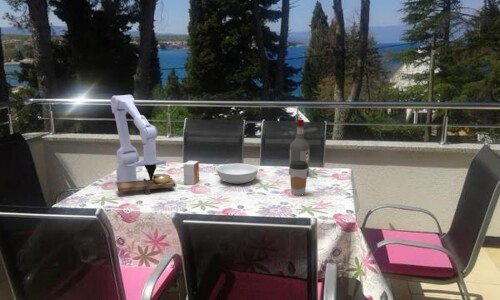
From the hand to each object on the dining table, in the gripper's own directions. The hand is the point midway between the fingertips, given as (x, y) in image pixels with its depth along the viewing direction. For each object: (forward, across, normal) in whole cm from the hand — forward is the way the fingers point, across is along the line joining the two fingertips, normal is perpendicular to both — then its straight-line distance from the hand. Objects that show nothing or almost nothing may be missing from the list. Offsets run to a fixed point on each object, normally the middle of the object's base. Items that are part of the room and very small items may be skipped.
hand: (151, 180), depth 205 cm
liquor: (+5, +78, 0) cm, 78 cm away
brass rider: (+1, +5, 0) cm, 5 cm away
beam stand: (+5, -2, 0) cm, 6 cm away
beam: (+2, -2, 0) cm, 3 cm away
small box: (+5, +21, +6) cm, 22 cm away
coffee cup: (+5, +63, -29) cm, 70 cm away
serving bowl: (+5, +44, +1) cm, 44 cm away
